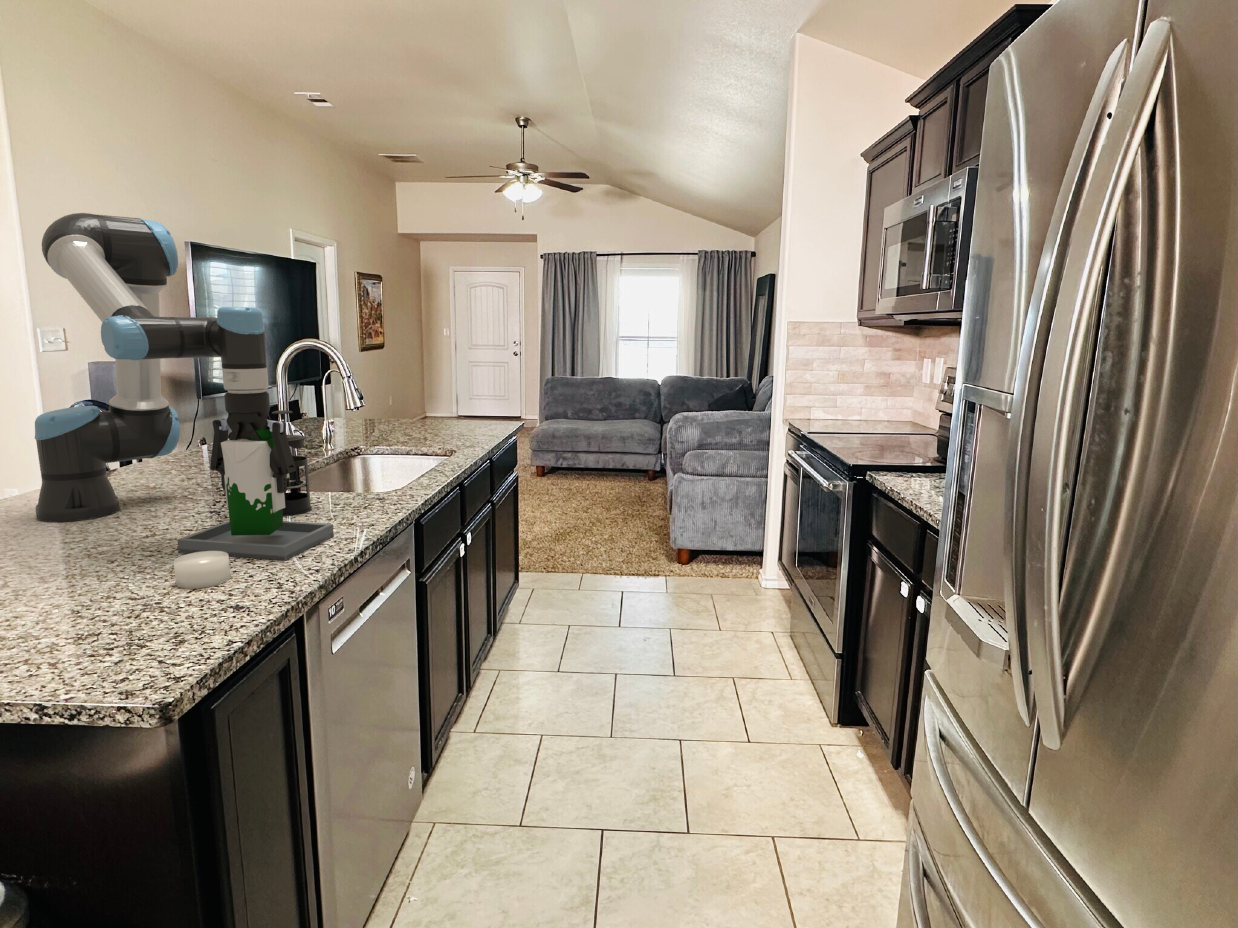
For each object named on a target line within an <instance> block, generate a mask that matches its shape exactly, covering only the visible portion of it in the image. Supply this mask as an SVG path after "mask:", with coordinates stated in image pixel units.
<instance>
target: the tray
mask: <svg viewBox="0 0 1238 928" xmlns="http://www.w3.org/2000/svg"><path fill="white" fill-rule="evenodd" d="M334 535H335V534H334V524H333V523H318V522H305V521H304V522H301V521H288V520H287V521H286V520H283V526H281V527H280V528H279V529H277V530H276V531H275V532H273V533H272V534H271V535H231V528H230V520H229V519H228V520H226V521H224V522H222V523H218V524H216V525H212V526H211V527H207V528H205V529H202V530H200V531H199V530H198V531H197V532H194V533H192V534H189V535H186V536H184V537H181V538H179V539H176V542H177V552H178V553H179V554H190V553H195V552H202V551H222V552H226V553H228V555H229V558H230V557H233V558H245V559H246V558H247V559H248V558H249V559H258V560H260V559H261V560H262V559H263V560H272V561H273V560H274V561H287V560H289V559H291V558H293V557H295V556H297V555H299V554H302V553H304V552H306V551H308V550H309V549H311V548H313V547H315V546H317V545H319V544H321V543H323V542H325V541H326V540H329V539H331V538H333V537H334Z"/></svg>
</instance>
